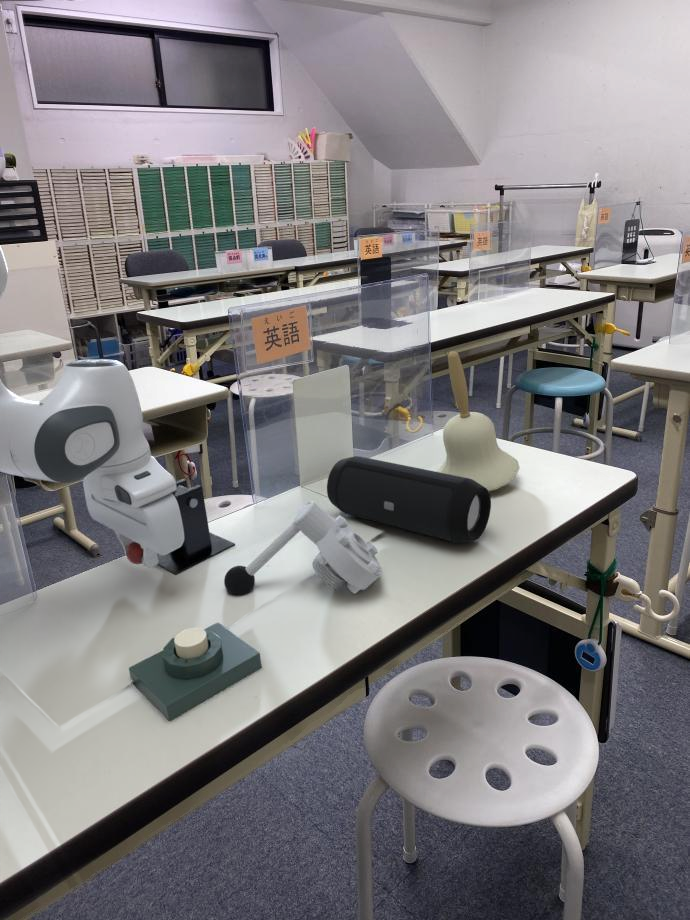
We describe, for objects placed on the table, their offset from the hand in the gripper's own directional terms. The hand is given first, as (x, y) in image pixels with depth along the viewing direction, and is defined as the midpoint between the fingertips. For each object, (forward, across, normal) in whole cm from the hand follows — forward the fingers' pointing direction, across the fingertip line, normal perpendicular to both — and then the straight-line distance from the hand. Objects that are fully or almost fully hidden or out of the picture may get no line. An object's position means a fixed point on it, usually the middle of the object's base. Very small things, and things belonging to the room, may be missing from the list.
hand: (142, 560), depth 99 cm
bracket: (+4, 0, +8) cm, 9 cm away
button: (-1, +24, -8) cm, 25 cm away
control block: (+3, +24, -8) cm, 26 cm away
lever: (-2, 0, +5) cm, 5 cm away
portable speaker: (+5, +20, +35) cm, 41 cm away
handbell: (+5, +20, +56) cm, 60 cm away
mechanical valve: (+4, +21, +12) cm, 24 cm away
